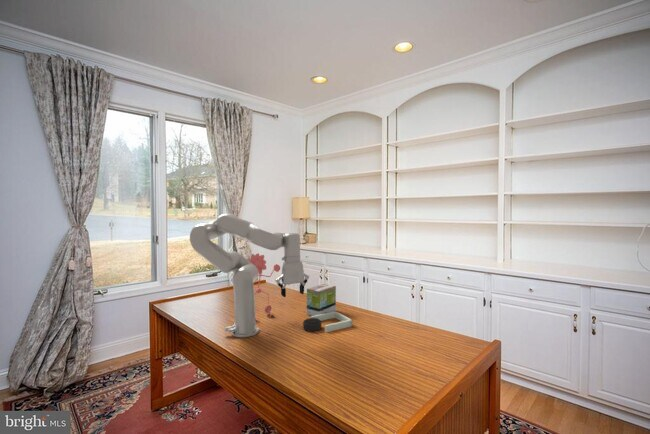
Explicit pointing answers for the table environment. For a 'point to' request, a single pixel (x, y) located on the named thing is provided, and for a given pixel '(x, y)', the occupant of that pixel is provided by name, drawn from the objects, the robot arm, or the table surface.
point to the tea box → (321, 299)
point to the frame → (335, 326)
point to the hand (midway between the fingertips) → (292, 294)
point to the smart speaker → (312, 324)
